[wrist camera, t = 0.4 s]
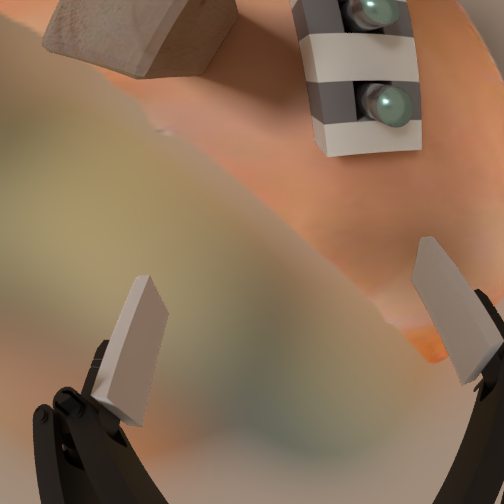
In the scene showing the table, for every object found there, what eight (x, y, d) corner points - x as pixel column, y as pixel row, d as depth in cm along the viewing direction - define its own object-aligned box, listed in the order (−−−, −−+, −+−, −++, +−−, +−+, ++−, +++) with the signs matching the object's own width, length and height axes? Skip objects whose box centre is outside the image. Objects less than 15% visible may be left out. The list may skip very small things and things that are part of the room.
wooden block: (242, 14, 25) (229, -49, 9) (201, 78, 30) (144, 85, 14) (171, -12, 22) (98, -69, 6) (134, 52, 27) (32, 50, 11)
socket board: (285, -15, 22) (292, -33, 17) (376, -13, 21) (399, -25, 15) (315, 142, 35) (327, 157, 29) (396, 135, 33) (421, 149, 28)
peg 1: (334, 1, 20) (355, -15, 14) (368, 3, 20) (395, -10, 14) (341, 32, 22) (364, 23, 16) (374, 33, 22) (404, 27, 16)
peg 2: (349, 82, 26) (374, 86, 20) (381, 82, 25) (412, 87, 19) (353, 116, 28) (377, 128, 22) (384, 114, 27) (414, 127, 22)
